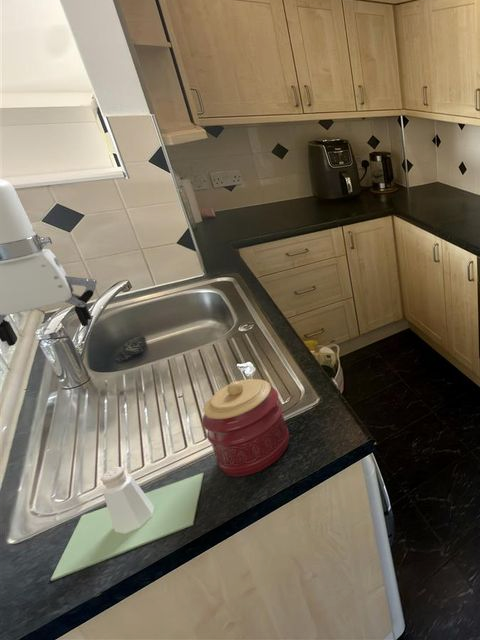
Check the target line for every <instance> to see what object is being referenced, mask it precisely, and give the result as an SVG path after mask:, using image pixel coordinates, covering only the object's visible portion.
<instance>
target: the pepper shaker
mask: <svg viewBox="0 0 480 640" xmlns="http://www.w3.org/2000/svg"><path fill="white" fill-rule="evenodd" d="M100 481H101V482H102V483H103V486H104V489H103V492H102V494H103V498H104V501H105V504H106V507H107V508H108V511H109V514H110V517H111V520H112V524H113V527H114V530H115V532H119V533H124V534H126V533H128V532H131V531H133V530H135V529H137V528H140V527H141V526H142V525H144V524H145V523H146V522H147V521H148V520H149V519H150V518H151V517H152V516H153V510H154V506H153V504H152V503H151V502H150V500H149V499H148V498H147V496H146V495H145V493H146V492H144V490H143V489H142V488H141V486H140V485H139V484H138V483H137V481H136V479H134V477H133V476H131V475H127V474H126V472H125V469H124V467H122V466H115V467H112V468H111V469H109V470H107V471H106V472H104V473H103V474H102V475H101V477H100Z"/></svg>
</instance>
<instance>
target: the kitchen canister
mask: <svg viewBox="0 0 480 640" xmlns="http://www.w3.org/2000/svg"><path fill="white" fill-rule="evenodd" d="M278 400H279V393H278V391H277V390H276V389H275V388H274V387H272V386H271V383H269V382H268V381H267V380H265V379H258V378H257V379H256V378H254V379H253V378H247V379H242V380H234V381H231V382H230V383H229V384H227V385H225V386H224V387H223V386H222V388H220V389H219V390H217V391H216V392H215V394H213V395H212V396H211V397H210V398H209V399H208V400H207V401H206V403H205V404H204V407H203V416H202V420H201V425H202V427H203V428H204V429H205V430H206V431H207V432H206V438H207V440H208V442H209V443H210V444H211V448H212V450H213V453H214V455H215V461H216V463H217V466H218V468H219V469H220V470H221V471H222V472H223V474H225V475H226V476H229V477H236V478H237V477H245V476H250V475H253V474H256V473H259V472H260V471H262V470H264V469H266V468H268V467H269V466H271V465H273V464H274V463H275V462H276V461H278V460H279V459H280V458H281V456H283V454H284V453H285V452H286V450H288V449H287V448H288V447H289V445H290V444H289V443H290V431H289V428H288V426H287V423H286V420H285V417H284V415H283V414H284V413H283V406H282V404H281V403H280V402H279V401H278Z"/></svg>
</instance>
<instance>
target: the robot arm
mask: <svg viewBox="0 0 480 640" xmlns="http://www.w3.org/2000/svg"><path fill="white" fill-rule="evenodd" d="M52 244H53V242H52V239H51V237H49V236H46V237H43V236H42V237H41V236H39V235H38V233H36V231H35V229H34V228H33V226H32V223H31V221H30V218H29V217H28V214H27V212H26V210H25V208H24V206H23V204H22V202H21V200H20V198H19V195H18V192H17V191H16V189H15V186H13V184H12V183H11V182H9V181H8V180H5V179H1V178H0V341H1V343H3V342H6V343H7V345H8V347H12V346H15V345H16V343H17V341H18V338H19V337H18V336H17V334H16V332H15V330H14V329H13V327H12V325H11V322H10V321H8V320H5V318H6V317H7V316H9V315H13V314H18V313H22V312H28V311H32V310H36V309H40V308H44V307H49V306H53V305H56V304H61V303H67V304H70V305H72V306H75V307H74V311H75V314H76V317H77V318H78V320H79V322H80V324H81V326H82V327H87V326H89V320H92V314H91V312H90V311H89V307H88V306H87V303H88V302H89V301H90V300H91V299H92V298H93V296H94V293H95V290H96V286H97V284H98V283H97V279H94V278H86V277H77V276H68V274H67V273H66V270H65V269H64V267H63V266H62V264H61V263H60V261H59V260H58V258H57V256H56V255H55V253H53V252H52V251H51V249H50V248H44V247H46V246H47V245H52ZM73 286H81V287H85V289H84V292H83V293H82V294H81V295H79V294H77V293H74V291H75V290H74V287H73Z"/></svg>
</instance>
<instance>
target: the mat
mask: <svg viewBox="0 0 480 640" xmlns="http://www.w3.org/2000/svg"><path fill="white" fill-rule="evenodd" d="M204 476H205V472H201V473H198V474H196V475H193V476H192V475H191V476H190V477H186V478H184V479H182V480H178V481H176V482H173V483H170V484H168V485H164V486H160V487H159V488H155V489H153V490H150V491H147V492H144V493H145V495H146V496H147V498H148V499H149V500H150V502H151V503H152V504H153V506H154V510H153V516H152V517H151V518H150V519H149V520H148V521H147V522H146V523H145V524H144V525H142V526H141V527H140V528H137V529H135V530H133V531H131V532H128V533H126V534H124V533H119V532H115V530H114V527H113V524H112V520H111V517H110V514H109V511H108V508H107V506H104V507H102V508H99V509H96V510H93V511H90V512H88V513H85V514H83V515H81V516H80V518H79V521H78V522H77V524H76V527H75V528H74V531H73V533H72V535H71V537H70V539H69V540H68V542H67V545H66V547H65V548H64V551H63V553H62V555H61V557H60V559H59V561H58V563H57V565H56V567H55V569H54V572H53V574H52V576H51V577H50V581H51V582H53V581H56V580H57V579H60V578H63V577H66V576H68V575H71V574H73V573H75V572H78V571H81V570H83V569H86V568H88V567H91V566H93V565H96V564H98V563H101V562H104V561H106V560H108V559H111V558H113V557H117V556H119V555H122V554H125V553H126V552H129V551H131V550H134V549H136V548H140V547H141V546H144V545H147V544H149V543H151V542H154V541H157V540H159V539H162V538H164V537H166V536H170V535H172V534H175V533H177V532H179V531H182V530H184V529H187V528H190V527H192V526H194V524H195V519H196V513H197V510H198V504H199V499H200V494H201V489H202V485H203V481H204Z"/></svg>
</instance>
